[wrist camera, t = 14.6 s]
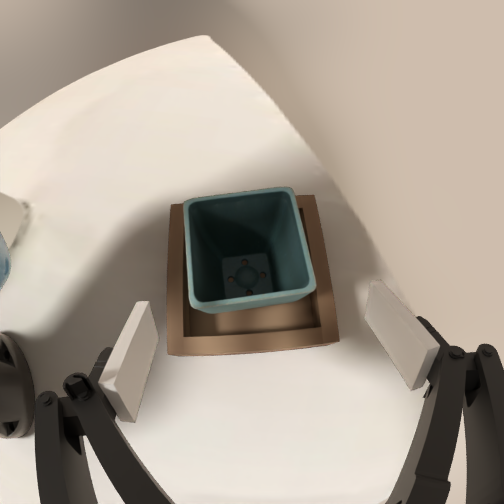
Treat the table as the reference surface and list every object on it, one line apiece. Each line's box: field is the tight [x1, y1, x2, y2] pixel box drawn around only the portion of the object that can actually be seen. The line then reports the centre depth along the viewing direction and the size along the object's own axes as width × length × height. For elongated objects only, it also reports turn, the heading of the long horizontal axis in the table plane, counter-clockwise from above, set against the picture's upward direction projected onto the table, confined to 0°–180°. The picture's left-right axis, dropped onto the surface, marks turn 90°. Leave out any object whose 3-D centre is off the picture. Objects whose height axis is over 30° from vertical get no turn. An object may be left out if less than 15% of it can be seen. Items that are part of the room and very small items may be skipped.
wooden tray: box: [167, 195, 340, 356], centre depth 28 cm, size 15×15×4 cm
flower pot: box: [183, 187, 316, 314], centre depth 25 cm, size 9×9×9 cm
